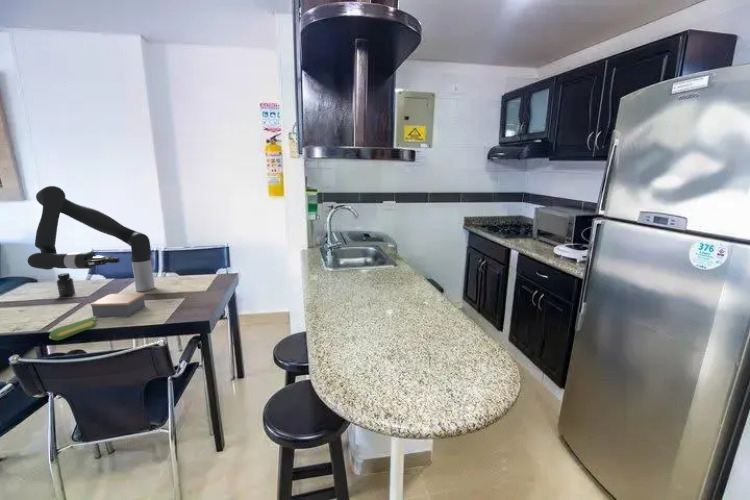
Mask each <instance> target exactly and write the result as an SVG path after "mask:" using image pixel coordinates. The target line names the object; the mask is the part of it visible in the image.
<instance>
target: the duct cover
mask: <svg viewBox="0 0 750 500" xmlns="http://www.w3.org/2000/svg"><path fill="white" fill-rule="evenodd" d="M145 295H146V294H145V293H144V292H142V293H141V292H137V293H136V292H132V293H129V292H128V293H109V294H107V295H105V296H104V297H102V298H99V299H97V300H95V301H93V302H91V303H90V306H91V307H92V306H110V305H129V304H131V303H132V302H134V301H136V300H137V299H139V298H141V297H142V296H144V297H145Z"/></svg>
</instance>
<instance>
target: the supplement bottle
mask: <svg viewBox="0 0 750 500" xmlns="http://www.w3.org/2000/svg"><path fill="white" fill-rule="evenodd" d="M70 275H71V274H70V273H69V272H68V273H67V272H65V273H60V274H57V281H56V286H57V291H58V296H59V297H61V298H65V297H66V298H67V297H72V296H74V295H75V294H76V289H75V285H74V283H75V282H74V279H73V278H72V277H71V276H70Z"/></svg>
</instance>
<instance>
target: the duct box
mask: <svg viewBox="0 0 750 500" xmlns="http://www.w3.org/2000/svg"><path fill="white" fill-rule="evenodd" d="M144 308H146V303H145V295H144V296H142V297H141V298H139V299H137V300H136V301H134V302H132V303H131V304H129V305H110V306H91V309H92V310H91V311H92V315H93V316H92V317H94V316H97V317H96V318H95V319H97V318H98V319H101V318H102V319H104V318H105V319H106V318H107V319H108V318H130V317H132V316H133V315H135V314H136V313H138V312H139V311H141V310H142V309H144Z"/></svg>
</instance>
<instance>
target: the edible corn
mask: <svg viewBox="0 0 750 500" xmlns="http://www.w3.org/2000/svg"><path fill="white" fill-rule="evenodd" d="M96 317H97V316H94V317H93V316H91V317H88V318H85V319H82V320H78V321H76V322H72V323H68V324H65V325H62V326H59V327H56V328H54V329H52V330H51V331H50V333H49V336H48V338H49V339H50V340H52V341H62V340H64V339H68V338H70V337H72V336H75V335H77V334H80V333H83V332H84V331H87V330H89V329H92V328H94V327H96V326H97V323H98V322H99V319H97V318H96Z"/></svg>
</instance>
